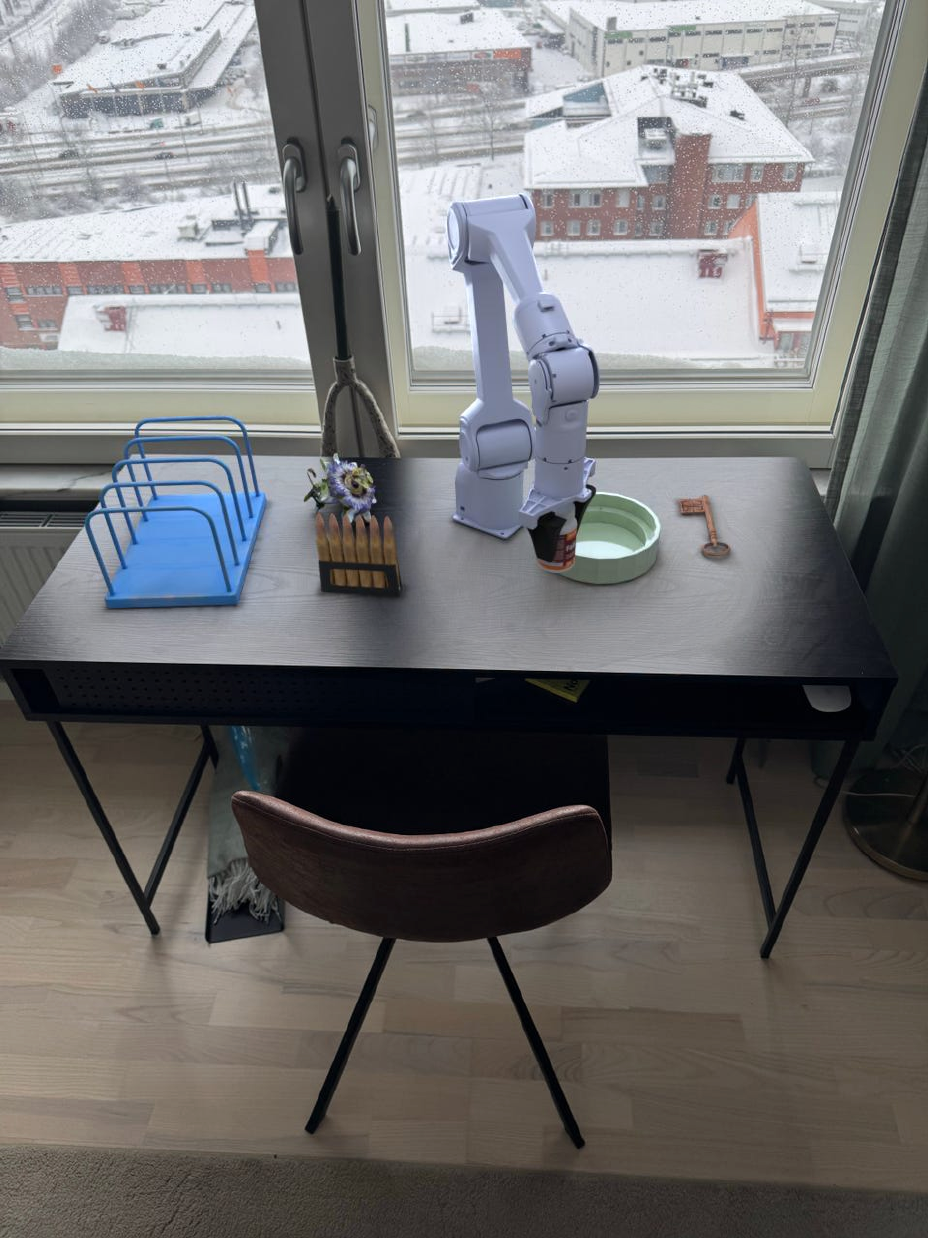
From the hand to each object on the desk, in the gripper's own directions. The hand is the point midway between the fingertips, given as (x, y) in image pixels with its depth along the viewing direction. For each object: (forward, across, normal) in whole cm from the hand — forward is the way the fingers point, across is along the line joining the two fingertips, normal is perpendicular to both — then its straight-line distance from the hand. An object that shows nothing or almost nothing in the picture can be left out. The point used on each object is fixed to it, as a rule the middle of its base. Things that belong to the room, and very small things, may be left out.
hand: (555, 548), depth 115 cm
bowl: (+9, +14, +1) cm, 16 cm away
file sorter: (+9, -18, +49) cm, 53 cm away
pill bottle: (+2, 0, 0) cm, 2 cm away
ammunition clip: (+9, -11, +23) cm, 27 cm away
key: (+9, +27, -9) cm, 30 cm away
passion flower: (+9, +1, +37) cm, 38 cm away
